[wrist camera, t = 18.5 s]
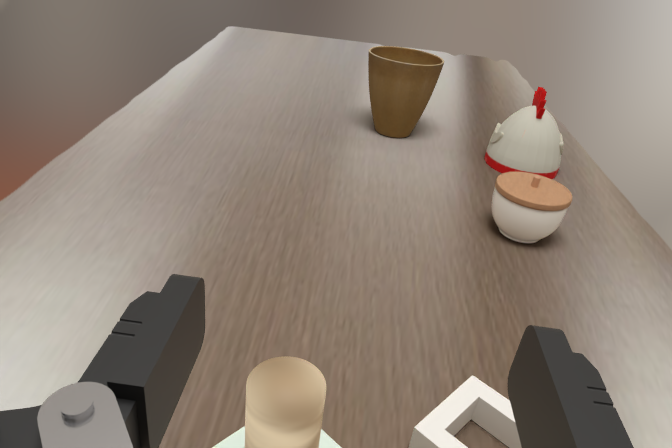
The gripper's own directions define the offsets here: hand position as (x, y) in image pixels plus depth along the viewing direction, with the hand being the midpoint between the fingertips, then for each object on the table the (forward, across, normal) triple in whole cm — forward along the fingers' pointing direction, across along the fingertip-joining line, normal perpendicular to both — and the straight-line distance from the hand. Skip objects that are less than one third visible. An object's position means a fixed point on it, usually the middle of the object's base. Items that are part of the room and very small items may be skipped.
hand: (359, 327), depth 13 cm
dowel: (+10, +2, +29) cm, 31 cm away
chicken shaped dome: (+89, -32, +30) cm, 99 cm away
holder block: (+21, -14, +30) cm, 39 cm away
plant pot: (+98, -7, +30) cm, 103 cm away
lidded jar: (+61, -26, +30) cm, 73 cm away
